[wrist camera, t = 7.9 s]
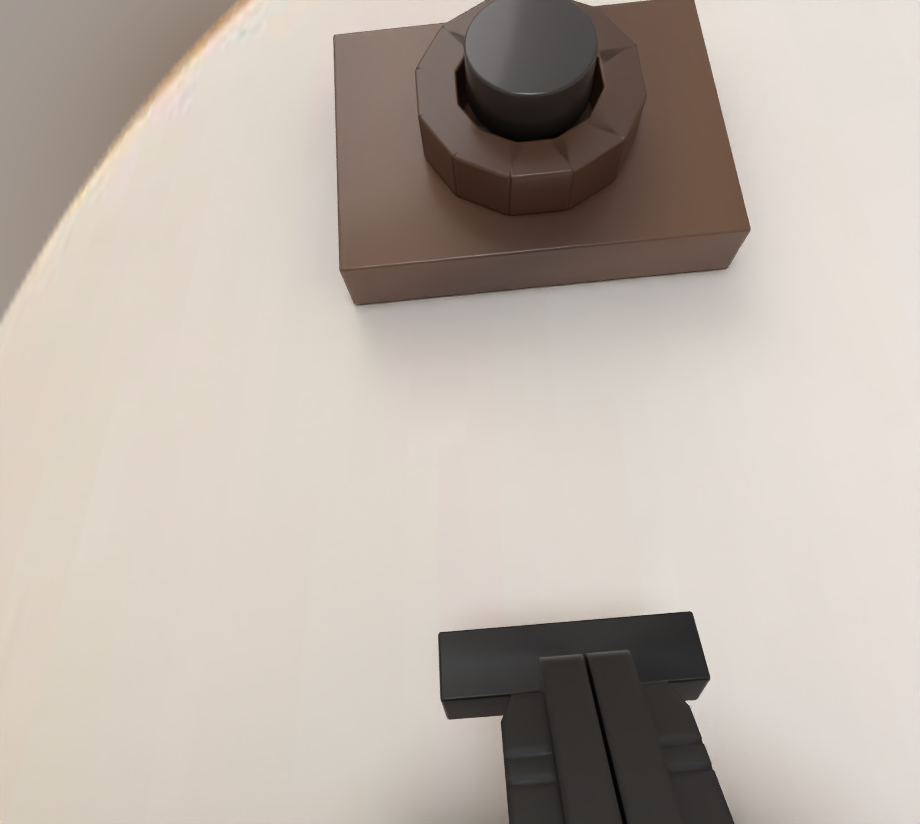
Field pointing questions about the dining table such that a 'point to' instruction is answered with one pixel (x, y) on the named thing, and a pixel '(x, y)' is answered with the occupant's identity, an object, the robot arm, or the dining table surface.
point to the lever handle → (519, 647)
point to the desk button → (530, 66)
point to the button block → (531, 165)
